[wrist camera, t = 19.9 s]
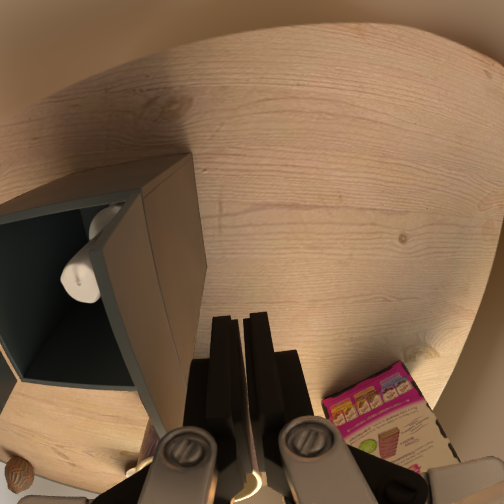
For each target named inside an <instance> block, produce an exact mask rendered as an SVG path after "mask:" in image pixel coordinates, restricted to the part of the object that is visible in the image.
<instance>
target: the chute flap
mask: <svg viewBox="0 0 504 504" xmlns="http://www.w3.org/2000/svg"><path fill="white" fill-rule="evenodd" d="M88 254H89V257H90V261H91V265H92V268H93V272H94V275H95V278H96V282H97V285H98V288H99V292H100V295H101V298H102V301H103V304H104V307H105V310H106V313H107V316H108V319H109V322H110V324H111V327H112V330H113V333H114V336H115V338H116V341H117V344H118V346H119V349H120V351H121V354H122V356H123V359H124V361H125V364H126V366H127V369H128V371H129V374H130V376H131V378H132V381H133V383H134V385H135V387H136V390H137V392H138V394H139V396H140V399H141V401H142V403H143V405H144V407H145V409H146V411H147V413H148V416H149V418H150V420H151V422H152V424H153V426H154V428H155V430H156V432H157V434H158V436H159V437H160V439H161V438H162V437H163V436H164V435H165V434H166V433H167V432H169V431H171V430H173V429H175V428H179V427H182V425H183V417H184V409H185V401H186V393H187V387H186V383H185V380H184V377H183V374H182V370H181V367H180V364H179V360H178V357H177V353H176V350H175V346H174V343H173V339H172V335H171V331H170V328H169V324H168V320H167V316H166V312H165V308H164V304H163V300H162V296H161V292H160V288H159V283H158V279H157V275H156V270H155V265H154V261H153V256H152V251H151V246H150V242H149V236H148V231H147V226H146V221H145V215H144V210H143V204H142V198H141V193H135V194H132V195H131V197H130V198H129V199H128V200H127V201H126V203H125V204H124V205H123V206H122V208H121V209H120V210H119V211H118V213H117V214H116V215H115V216H114V218H113V219H112V220H111V222H110V223H109V224H108V225H107V227H106V228H105V229H104V231H103V232H102V233H101V235H100V236H99V237H98V239H97V240H96V241H95V243H94V244H93V245H92V247H91V248H90V249H89V251H88Z"/></svg>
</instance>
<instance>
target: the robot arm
mask: <svg viewBox="0 0 504 504" xmlns="http://www.w3.org/2000/svg"><path fill="white" fill-rule="evenodd" d="M243 327H244V343H245V359H246V374H247V382H246V375H245V368H244V361H243V354H242V347H241V339H240V332H239V325H238V319H234V320H231V316H230V315H228V316H217V317H213V319H212V331H211V343H210V356H209V358H207V359H192V361H191V364H190V371H189V378H188V386H187V393H186V401H185V409H184V417H183V425H182V427H179V428H175V429H173V430H171V431H169V432H167V433H166V434H165V435H164V436H163V437H162V438H161V440H160V442H159V443H158V445H157V448H156V451H155V454H154V457H153V460H152V462H151V463H150V464H148V465H147V466H145V467H144V468H142V469H141V470H139V471H138V472H136V473H134V474H133V475H131V476H130V477H128V478H127V479H125V480H124V481H122V482H120V483H119V484H117V485H116V486H114V487H112V488H111V489H109V490H107V491H106V492H104V493H102V494H101V495H99V496H98V497H96V498H95V499H90V500H89V499H87V498H86V497H60V496H41V495H28V496H25V497H23V498H21V499H20V501H19V502H18V503H17V504H234V503H235V496H236V495H237V494H238V493H239V492H241V491H242V490H243V489H244V483H247V480H246V474H248V473H253V464H252V451H251V437H250V423H249V414H250V422H251V428H252V434H253V441H254V447H255V453H256V459H257V464H258V470H259V473H260V472H266V475H267V483H268V486H269V487H270V488H272V489H273V490H275V491H277V492H278V493H280V494H281V495H282V499H283V502H284V504H504V462H503V461H502V460H501V459H499V458H497V457H494V456H487V457H482V458H478V459H474V460H470V461H465V462H461V463H456V464H452V465H446V466H441V467H436V468H430V469H428V470H427V471H426V472H421V473H416V472H415V471H413V470H410V469H407V468H405V467H402V466H399V465H397V464H394V463H392V462H389V461H386V460H384V459H381V458H379V457H377V456H374V455H372V454H369V453H367V452H365V451H362V450H360V449H358V448H355V447H353V446H351V445H349V444H346V442H345V440H344V438H343V437H342V435H341V433H340V431H339V429H338V428H337V427H336V425H335V424H334V423H332V422H331V421H329V420H328V419H326V418H323V417H320V416H314V413H313V409H312V405H311V401H310V397H309V394H308V390H307V386H306V382H305V379H304V375H303V371H302V367H301V364H300V360H299V356H298V353H297V350H289V351H281V352H274V349H273V343H272V337H271V332H270V326H269V321H268V315H267V312H258V313H250V318H245V319H243ZM247 389H248V394H247ZM248 404H249V409H248Z"/></svg>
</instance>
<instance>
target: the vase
mask: <svg viewBox="0 0 504 504" xmlns="http://www.w3.org/2000/svg"><path fill="white" fill-rule="evenodd" d="M5 477H6V480H7V484H8V489H9V490H11V491H12V492H14V493H16V494H18V493H19V492H21V491H24V490H26V489H28V488H29V487H30V486H31V485H32V483H33V480H34V470H33V468H32V466H31V464H30V463H28V462H27V461H26V460H24V459H22V458H20V457H14V458H11V459H10V460H9V461H8V462H7V464H6V467H5Z"/></svg>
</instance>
